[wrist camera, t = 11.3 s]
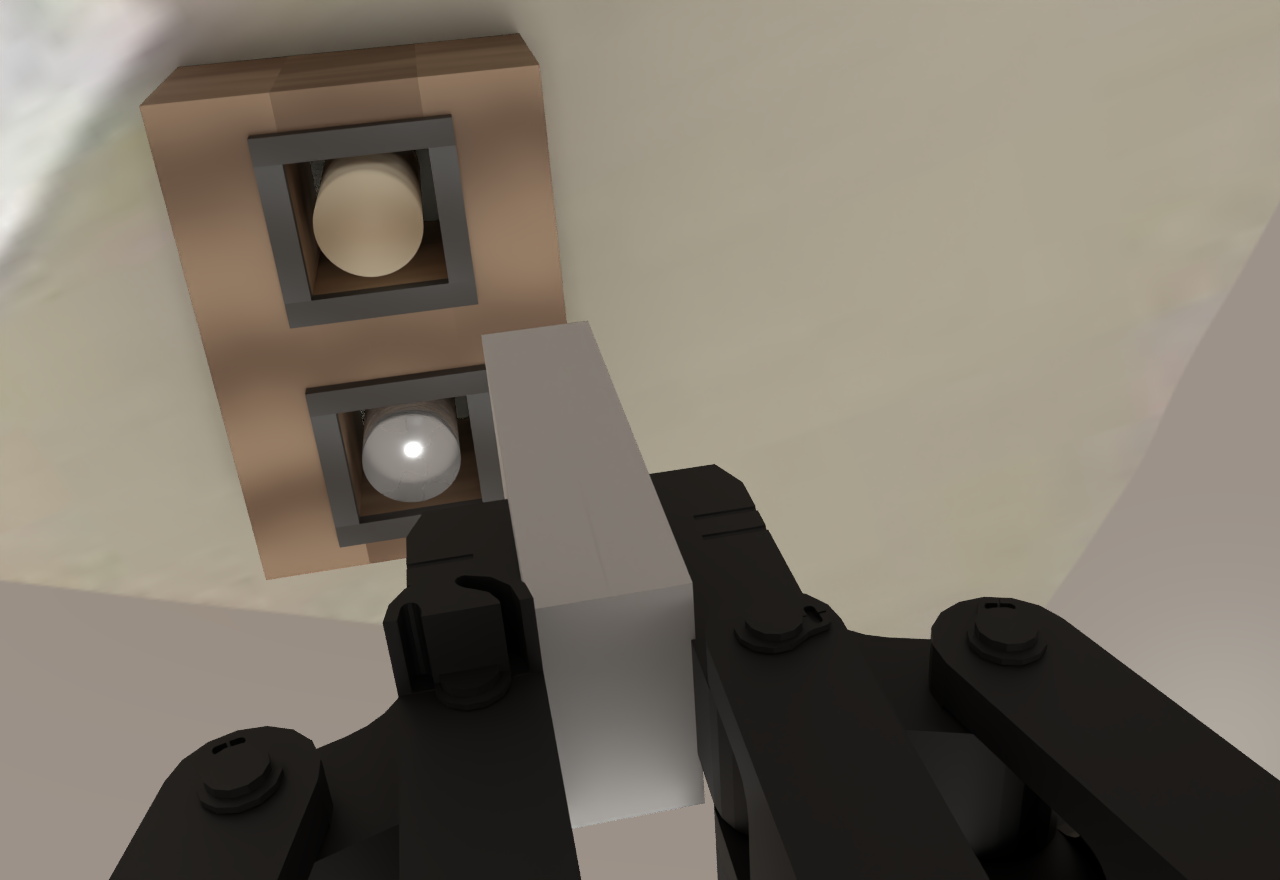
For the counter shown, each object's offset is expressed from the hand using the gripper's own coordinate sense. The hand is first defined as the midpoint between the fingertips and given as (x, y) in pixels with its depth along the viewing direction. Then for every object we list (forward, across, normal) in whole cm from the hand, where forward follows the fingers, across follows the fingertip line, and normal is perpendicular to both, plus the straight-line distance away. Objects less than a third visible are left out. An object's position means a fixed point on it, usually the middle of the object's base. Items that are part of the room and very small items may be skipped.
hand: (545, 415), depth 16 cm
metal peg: (+36, -4, -15) cm, 39 cm away
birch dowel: (+36, -4, -5) cm, 36 cm away
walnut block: (+36, -4, -10) cm, 38 cm away
